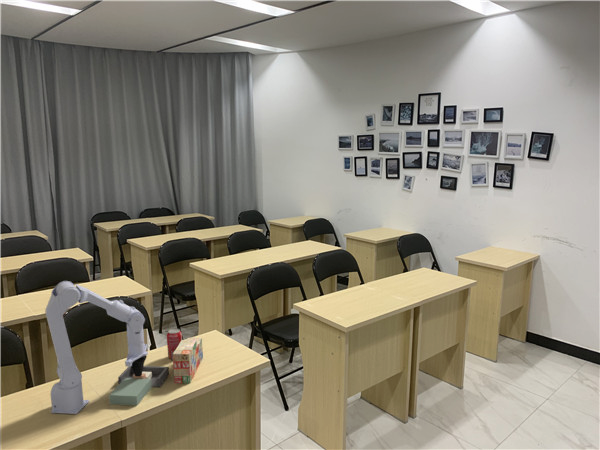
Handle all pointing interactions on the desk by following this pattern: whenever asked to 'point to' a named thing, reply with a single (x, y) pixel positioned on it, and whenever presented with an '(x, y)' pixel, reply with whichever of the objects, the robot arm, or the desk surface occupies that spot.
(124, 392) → the sage green slab
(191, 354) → the stack of blocks
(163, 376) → the tray
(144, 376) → the terracotta tile
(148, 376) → the cream tile
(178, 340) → the beverage can
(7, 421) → the desk surface
